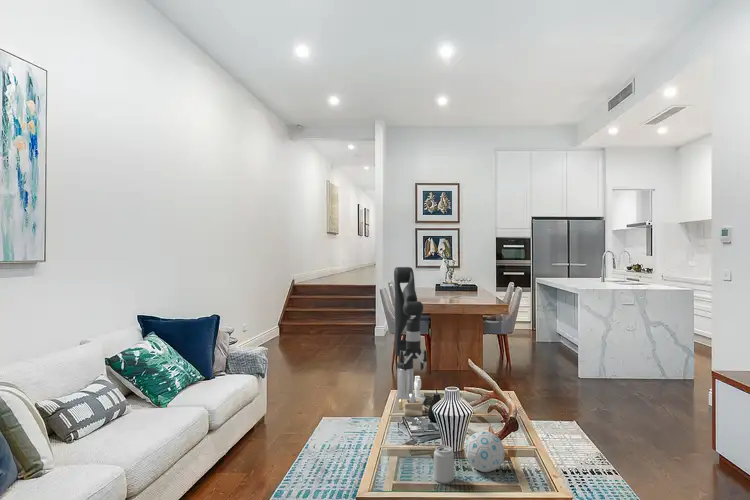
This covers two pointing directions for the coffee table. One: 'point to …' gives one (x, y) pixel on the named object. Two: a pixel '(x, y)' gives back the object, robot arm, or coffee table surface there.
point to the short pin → (400, 404)
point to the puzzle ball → (484, 451)
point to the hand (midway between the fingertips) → (413, 370)
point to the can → (444, 464)
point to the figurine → (418, 389)
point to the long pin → (412, 398)
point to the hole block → (411, 407)
